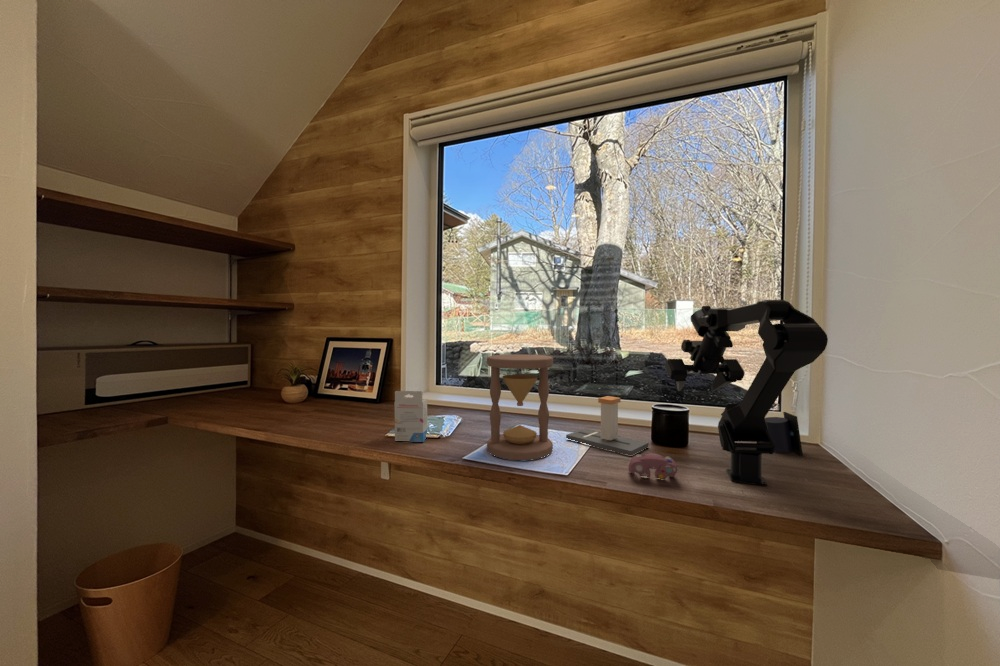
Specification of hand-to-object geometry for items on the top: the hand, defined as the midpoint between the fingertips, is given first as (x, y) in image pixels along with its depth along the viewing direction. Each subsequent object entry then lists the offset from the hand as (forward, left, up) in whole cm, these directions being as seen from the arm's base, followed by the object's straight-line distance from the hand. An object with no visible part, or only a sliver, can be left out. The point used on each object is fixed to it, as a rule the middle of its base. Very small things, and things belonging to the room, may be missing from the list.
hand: (695, 390), depth 109 cm
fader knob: (-11, +23, -13) cm, 28 cm away
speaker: (-1, -20, -15) cm, 25 cm away
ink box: (-27, +77, -15) cm, 83 cm away
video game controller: (-31, +12, -15) cm, 37 cm away
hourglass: (-24, +45, -15) cm, 53 cm away
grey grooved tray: (-10, +24, -15) cm, 30 cm away
